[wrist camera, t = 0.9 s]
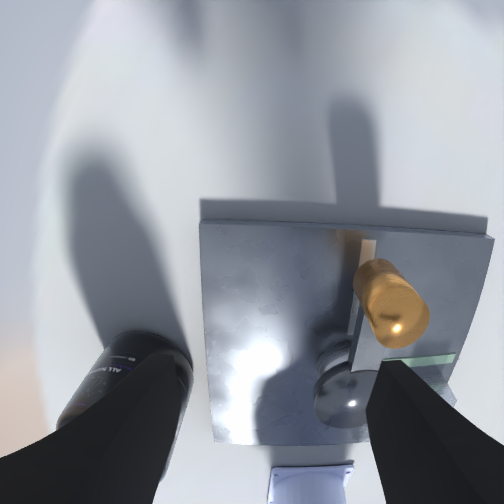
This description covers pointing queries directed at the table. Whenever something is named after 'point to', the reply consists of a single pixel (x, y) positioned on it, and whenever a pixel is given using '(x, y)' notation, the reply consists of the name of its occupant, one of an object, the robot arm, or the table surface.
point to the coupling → (370, 342)
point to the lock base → (319, 316)
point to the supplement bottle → (119, 366)
